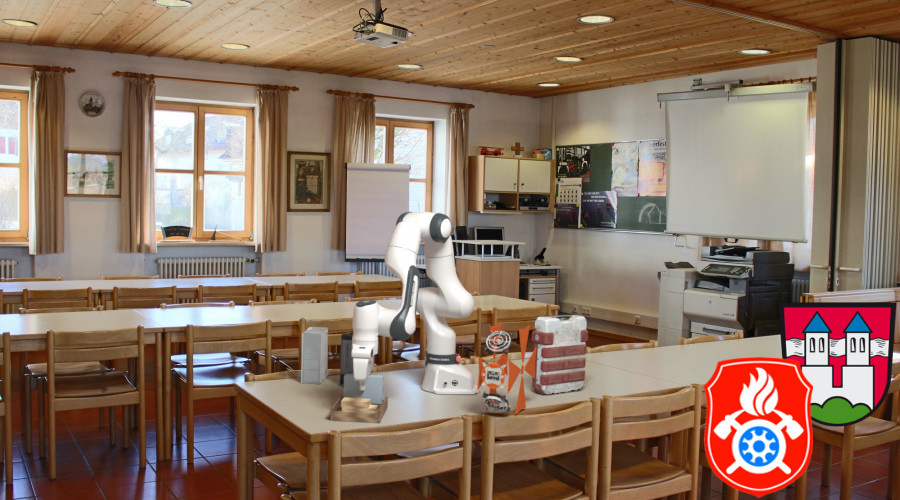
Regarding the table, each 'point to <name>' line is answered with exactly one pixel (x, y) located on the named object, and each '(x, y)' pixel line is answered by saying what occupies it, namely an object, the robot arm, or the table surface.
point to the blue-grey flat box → (371, 392)
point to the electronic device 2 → (504, 370)
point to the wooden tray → (358, 413)
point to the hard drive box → (314, 355)
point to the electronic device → (346, 356)
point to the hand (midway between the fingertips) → (363, 388)
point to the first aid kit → (559, 353)
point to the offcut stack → (358, 405)
